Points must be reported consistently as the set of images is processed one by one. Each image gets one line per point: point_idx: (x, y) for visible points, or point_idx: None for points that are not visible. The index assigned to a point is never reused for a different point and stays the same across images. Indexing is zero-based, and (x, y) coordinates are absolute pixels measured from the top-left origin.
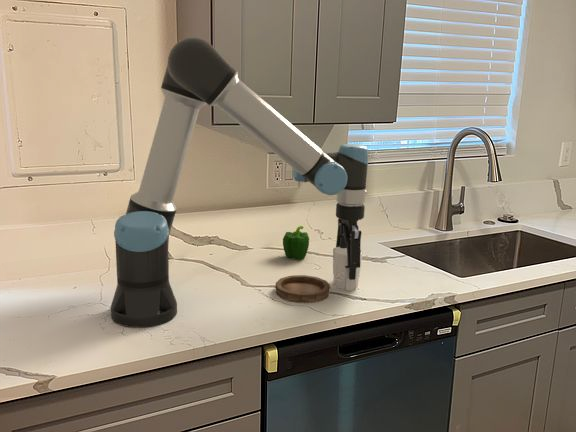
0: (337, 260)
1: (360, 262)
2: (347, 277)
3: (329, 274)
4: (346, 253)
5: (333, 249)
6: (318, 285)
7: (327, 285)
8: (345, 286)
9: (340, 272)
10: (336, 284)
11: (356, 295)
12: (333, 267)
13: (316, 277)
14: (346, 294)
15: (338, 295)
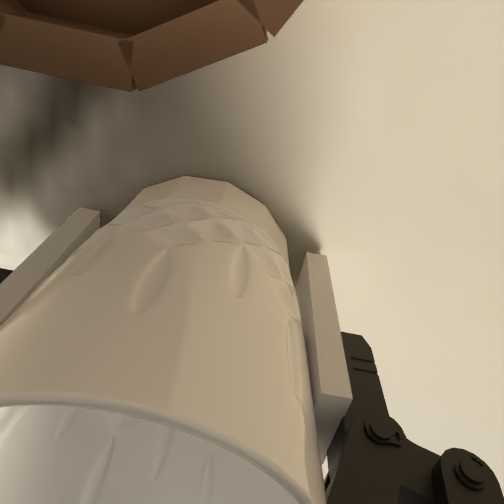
0: (37, 310)
1: (57, 476)
2: (24, 268)
3: (441, 249)
4: (285, 492)
5: (194, 430)
6: (175, 8)
7: (12, 43)
8: (77, 221)
9: (76, 252)
10: (166, 185)
11: (7, 237)
12: (195, 243)
13: (261, 28)
14: (26, 183)
15: (7, 116)
